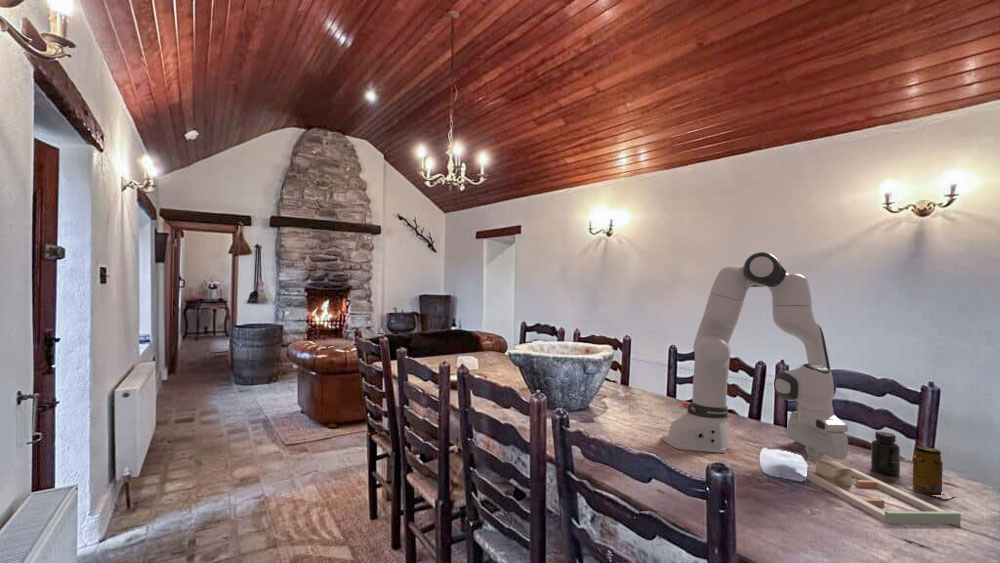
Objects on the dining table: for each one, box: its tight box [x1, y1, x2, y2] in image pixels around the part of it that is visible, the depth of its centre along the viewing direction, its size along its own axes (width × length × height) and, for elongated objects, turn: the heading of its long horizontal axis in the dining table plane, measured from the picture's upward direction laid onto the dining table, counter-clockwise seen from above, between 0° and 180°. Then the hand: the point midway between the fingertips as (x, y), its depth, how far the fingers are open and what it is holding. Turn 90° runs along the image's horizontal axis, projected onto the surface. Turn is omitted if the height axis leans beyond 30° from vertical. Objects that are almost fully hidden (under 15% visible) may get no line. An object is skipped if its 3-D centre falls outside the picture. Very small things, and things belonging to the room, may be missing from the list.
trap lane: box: [805, 467, 962, 525], centre depth 124 cm, size 18×30×2 cm, turn 4°
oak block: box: [814, 460, 853, 487], centre depth 132 cm, size 6×6×5 cm
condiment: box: [905, 445, 946, 501], centre depth 127 cm, size 7×8×12 cm
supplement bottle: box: [870, 431, 901, 477], centre depth 141 cm, size 7×7×12 cm
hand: (814, 463), depth 140 cm, fingers closed
